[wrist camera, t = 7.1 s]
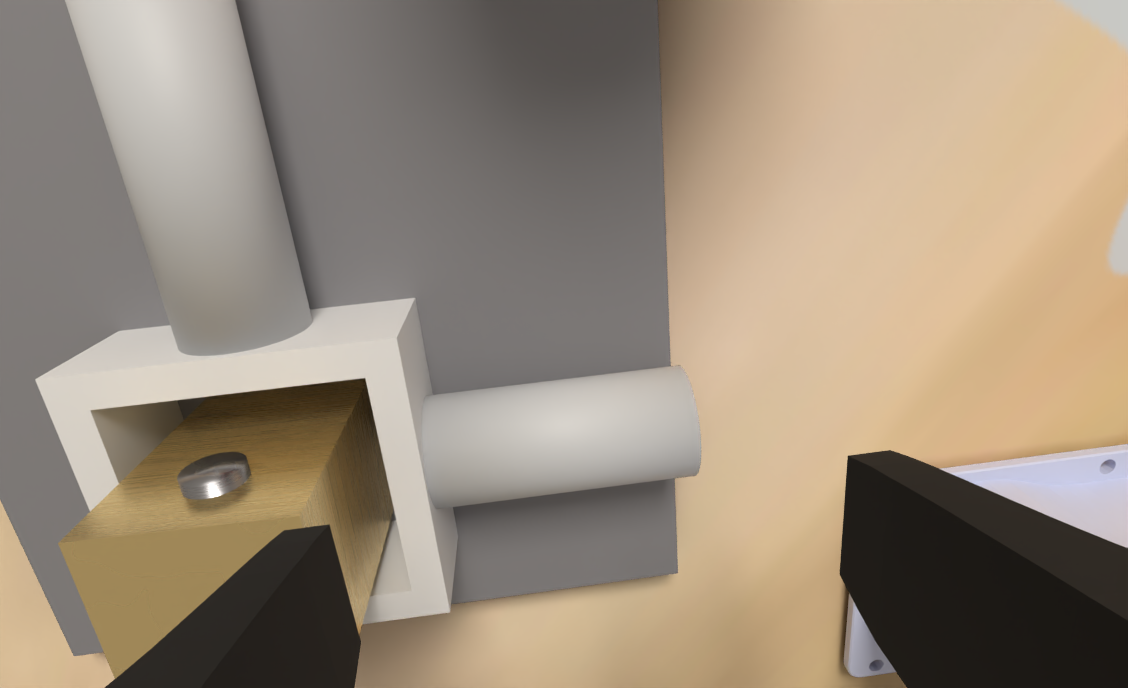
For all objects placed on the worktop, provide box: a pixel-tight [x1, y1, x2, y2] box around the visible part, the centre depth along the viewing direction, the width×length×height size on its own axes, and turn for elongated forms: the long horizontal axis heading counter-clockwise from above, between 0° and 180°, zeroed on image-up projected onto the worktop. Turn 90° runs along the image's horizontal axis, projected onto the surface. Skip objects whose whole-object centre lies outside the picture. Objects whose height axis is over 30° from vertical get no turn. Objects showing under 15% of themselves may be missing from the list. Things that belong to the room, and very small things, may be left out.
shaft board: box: [0, 0, 701, 656], centre depth 15 cm, size 18×18×4 cm
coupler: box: [58, 379, 394, 679], centre depth 14 cm, size 4×5×6 cm
